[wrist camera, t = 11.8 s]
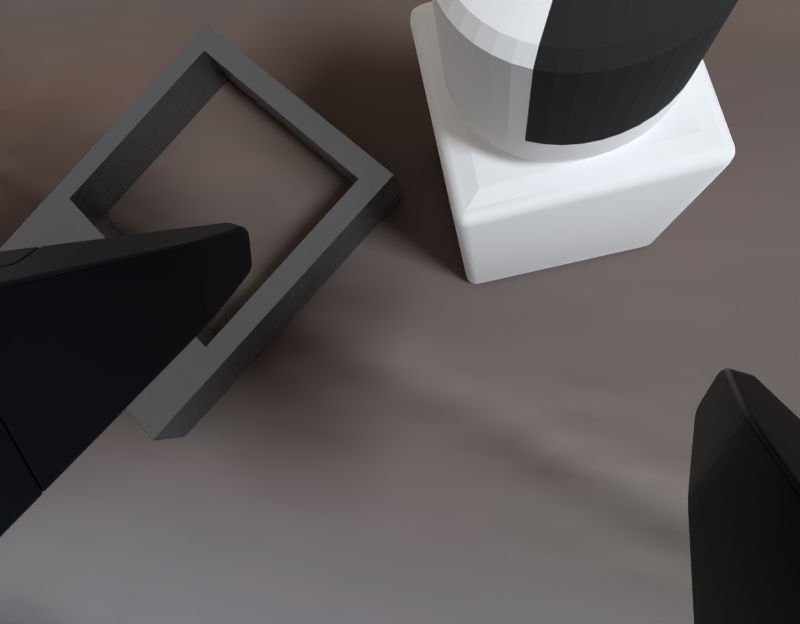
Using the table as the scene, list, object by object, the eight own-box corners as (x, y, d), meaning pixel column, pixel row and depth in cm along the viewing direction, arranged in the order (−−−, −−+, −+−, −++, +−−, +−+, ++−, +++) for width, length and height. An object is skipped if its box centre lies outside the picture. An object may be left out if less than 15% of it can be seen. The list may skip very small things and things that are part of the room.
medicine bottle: (602, 86, 20) (749, -342, 9) (652, 246, 19) (913, -8, 7) (434, 132, 21) (362, -192, 10) (469, 288, 20) (431, 125, 8)
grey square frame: (183, 436, 21) (152, 440, 19) (37, 263, 24) (-3, 250, 22) (403, 195, 21) (393, 174, 19) (229, 53, 24) (205, 23, 22)
